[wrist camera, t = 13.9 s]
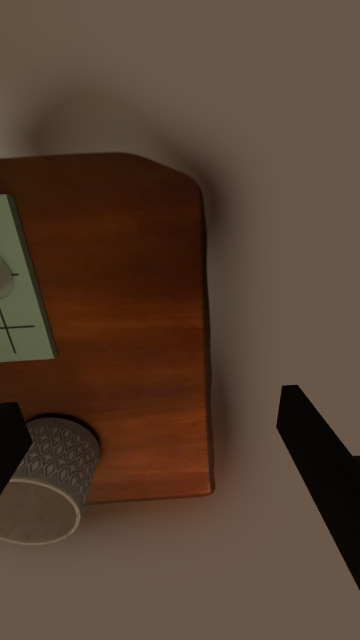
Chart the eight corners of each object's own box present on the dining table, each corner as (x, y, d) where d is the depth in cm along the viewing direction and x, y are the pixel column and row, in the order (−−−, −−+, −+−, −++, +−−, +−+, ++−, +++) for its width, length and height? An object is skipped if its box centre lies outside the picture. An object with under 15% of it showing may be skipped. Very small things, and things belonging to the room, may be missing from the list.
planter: (91, 408, 45) (64, 473, 33) (108, 467, 51) (91, 540, 40) (5, 416, 45) (-53, 485, 33) (33, 474, 51) (-8, 549, 40)
